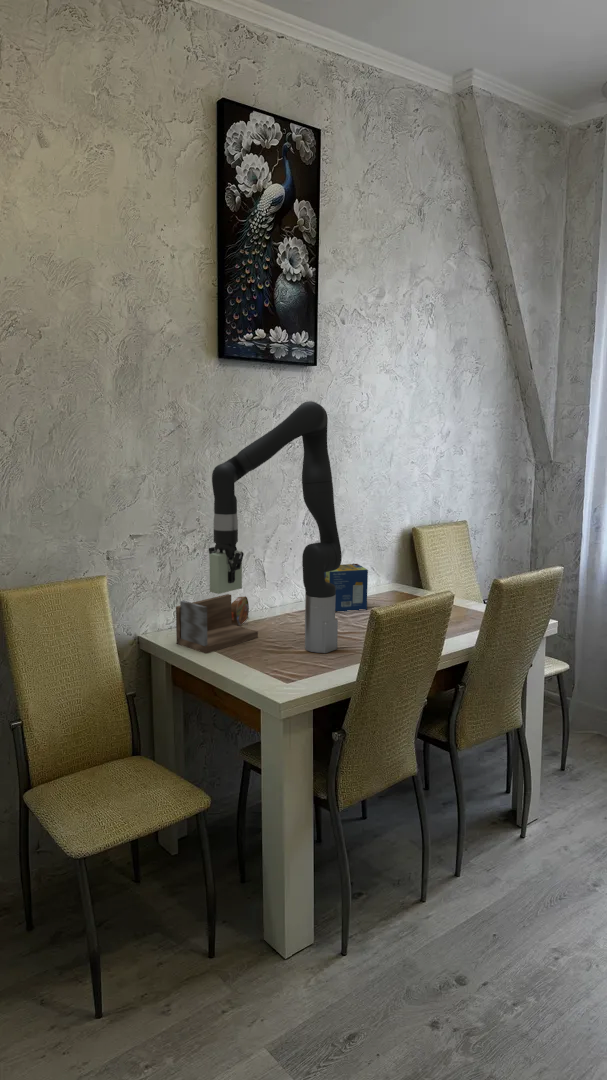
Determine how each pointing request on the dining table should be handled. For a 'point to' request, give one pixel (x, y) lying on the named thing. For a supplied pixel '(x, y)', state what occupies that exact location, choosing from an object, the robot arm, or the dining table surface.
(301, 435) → the robot arm
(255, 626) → the dining table surface
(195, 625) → the bookshelf
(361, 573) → the protein box
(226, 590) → the sage green tall block
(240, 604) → the tin
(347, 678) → the dining table surface
